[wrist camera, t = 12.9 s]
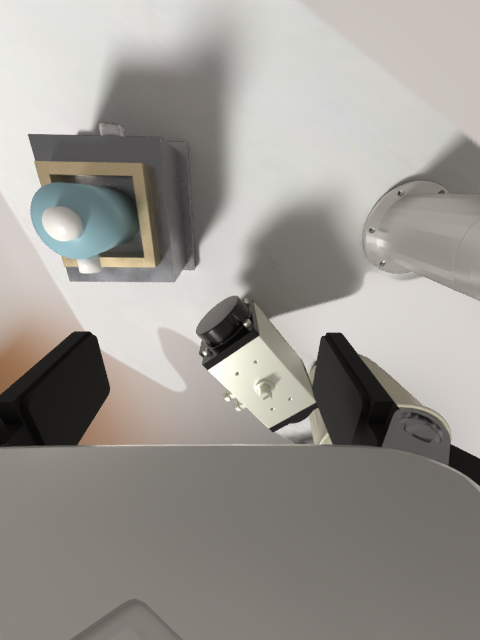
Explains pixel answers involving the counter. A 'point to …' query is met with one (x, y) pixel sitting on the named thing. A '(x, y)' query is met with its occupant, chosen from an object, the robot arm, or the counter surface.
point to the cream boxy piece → (255, 363)
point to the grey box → (140, 186)
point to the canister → (392, 388)
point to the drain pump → (83, 221)
